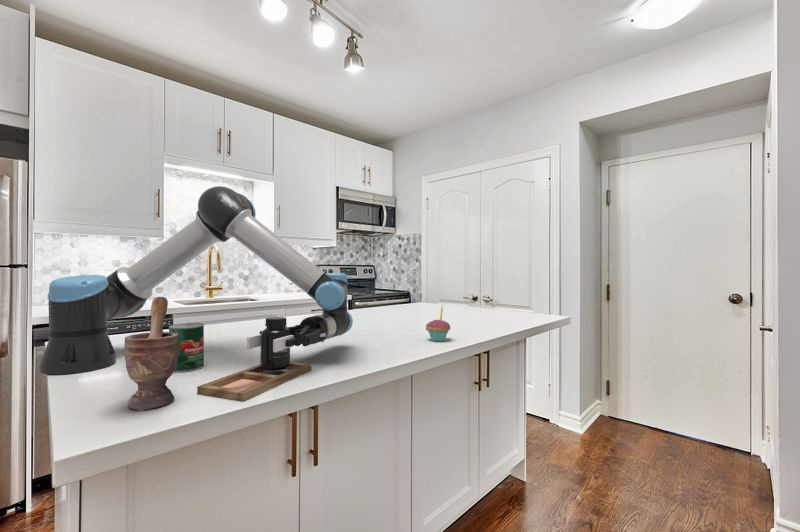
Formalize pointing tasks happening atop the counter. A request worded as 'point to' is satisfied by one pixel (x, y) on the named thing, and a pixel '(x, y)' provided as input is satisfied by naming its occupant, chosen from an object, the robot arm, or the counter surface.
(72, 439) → the counter surface
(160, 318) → the mortar and pestle
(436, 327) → the cupcake
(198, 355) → the canned tomato
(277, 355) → the supplement bottle
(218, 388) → the divided wooden tray
